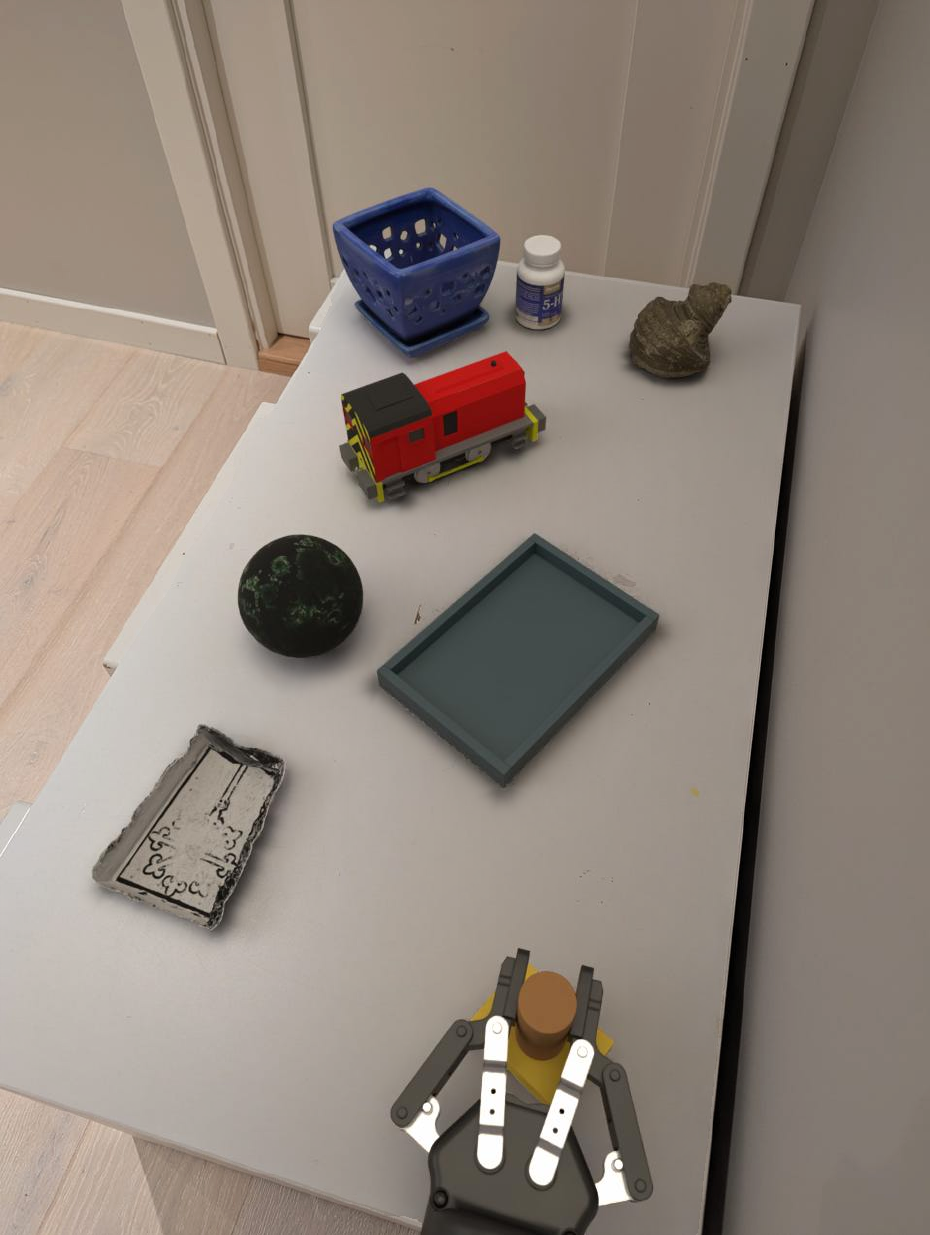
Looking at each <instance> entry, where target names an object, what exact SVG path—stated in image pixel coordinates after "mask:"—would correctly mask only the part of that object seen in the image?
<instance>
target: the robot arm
mask: <svg viewBox="0 0 930 1235" xmlns="http://www.w3.org/2000/svg"><path fill="white" fill-rule="evenodd" d="M530 957H531V950H528V949H525V948H522V947H521V948H520V947H517V951H516V955H515V957H513V956H508V955H507V956H506V957H505V959H504V960H503V961H502V963H501V965H500V970H499V974H498V978H497V979H498V980H497V982H496V988H495V990H496V991H495V990H494V992H495V996H494V1000H493V1004H492V1009H491V1011H490V1013H489V1015H488V1016H487V1017H485V1018H484V1019H481V1020H474V1021H470V1020H467V1019H465V1018H459V1019H457V1020H455V1021H454V1022H453V1023H452V1024H451V1026H449V1028H448V1030H446V1032H445V1034H444V1035H443V1036H442V1038H441V1039H440V1040H439V1042H438V1043H437V1044H436V1046H435V1047H434V1048H433V1050H432V1051H431V1052H430V1054H429V1055H428V1057H427V1058H426V1060H425V1061H423V1063H422V1065H421V1066H420V1068H419V1069H418V1070H417V1072H416V1073H415V1074H414V1075H413V1077H412V1078H411V1080H410V1081H409V1082H408V1084H407V1085H406V1086H405V1088H404V1089H403V1090H402V1092H401V1093H400V1094H399V1096H398V1097H397V1098H396V1100H395V1102H393V1104H392V1105H391V1107H390V1112H389V1113H390V1119H391V1122H392V1124H393V1125H394V1126H395V1128H397V1129H398V1130H399V1131H401V1132H404V1133H406V1134H407V1135H408V1136H409V1137H410V1138H412V1139H413V1140H414V1141H415V1142H416V1143H417V1144H418V1145H419V1146H420V1147H421V1148H422V1149H423V1150H424V1151H425V1152H426V1153H427V1154H428V1155H427V1168H428V1172H429V1179H430V1189H429V1195H428V1200H427V1204H426V1208H425V1212H424V1216H423V1221H422V1225H421V1229H420V1234H419V1235H585V1234H586V1232H587V1230H588V1229H589V1226H590V1225H591V1224H592V1222H593V1221H594V1219H596V1216H597V1214H598V1211H599V1207H602V1206H607V1205H612V1204H617V1203H623V1202H630V1203H634V1204H637V1203H638V1204H639V1203H642V1202H645V1201H647V1200H649V1199H650V1198H651V1197H652V1195H653V1192H654V1183H653V1179H652V1175H651V1171H650V1166H649V1162H648V1158H647V1154H646V1150H645V1146H644V1142H643V1137H642V1133H641V1129H640V1125H639V1121H638V1116H637V1112H636V1108H635V1103H634V1100H633V1095H632V1092H631V1087H630V1083H629V1079H628V1075H627V1071H626V1068H625V1067H624V1066H623V1065H622V1064H620V1063H618V1062H615V1061H612V1060H611V1059H610V1058H608V1057H607V1055H606V1056H604V1055H603V1054H602V1053H601V1052H600V1051H599V1049H598V1047H597V1044H596V1035H597V1029H598V1027H599V1022H600V1015H601V1010H602V1003H603V997H604V988H603V983H602V980H599V979H594V972H595V967H592V966H588V965H585V964H581V966H580V970H579V973H578V979H577V983H576V990H575V994H576V997H577V1011H576V1015H575V1017H574V1020H573V1023H572V1026H571V1028H570V1031H569V1034H568V1039H567V1042H569V1043H570V1049H569V1054H568V1057H567V1060H566V1063H565V1065H564V1068H563V1071H562V1074H561V1077H560V1080H559V1082H558V1085H557V1088H556V1091H555V1094H554V1096H553V1099H552V1102H551V1105H546V1104H541V1103H527V1102H525V1101H524V1100H522V1099H521V1098H519V1097H517V1096H515V1095H514V1094H512V1093H508V1092H506V1089H507V1071H508V1069H507V1051H508V1040H509V1036H510V1031H511V1026H513V1027H515V1024H516V1019H517V1007H518V997H519V992H520V989H521V987H522V985H523V983H524V982H525V977H526V972H527V967H528V963H529V961H530ZM529 964H530V963H529ZM479 1050H483V1063H482V1076H481V1092H480V1097H479V1098H478V1099H477V1100H476V1101H475V1102H474V1103H473V1104H471V1106H470V1107H469V1108H468V1109H467V1110H465V1112H464V1113H463V1114H462V1115H461V1116H459V1117H458V1118H457V1119H456V1120H455V1121H454V1122H453V1123H452V1124H451V1125H450V1126H449V1127H447V1129H446V1130H444V1131H443V1132H442V1133H441V1134H439V1133H438V1130H437V1122H438V1120H439V1118H440V1116H441V1105H440V1103H439V1101H438V1099H437V1096H439V1094H440V1092H441V1091H442V1090H443V1089H444V1087H445V1086H446V1084H447V1083H448V1081H449V1080H450V1079H451V1077H452V1076H453V1074H454V1073H455V1071H456V1070H457V1069H458V1067H459V1066H460V1065H461V1063H462V1062H463V1060H464V1059H465V1057H466V1056H467V1055H468V1053H469V1052H471V1051H479ZM586 1078H587V1079H588V1080H587V1081H589V1082H591V1083H592V1084H594V1085H595V1086H597V1087H598V1088H599V1092H600V1097H601V1102H602V1106H603V1110H604V1115H605V1120H606V1124H607V1128H608V1133H609V1138H610V1142H611V1147H612V1151H611V1152H609V1153H608V1154H607V1155H605V1157H604V1158H603V1161H602V1174H601V1175H602V1176H601V1178H600V1180H598V1182H595V1180H594V1178H593V1176H592V1173H591V1171H590V1168H589V1165H588V1163H587V1160H586V1158H585V1155H584V1153H583V1150H582V1147H581V1145H580V1142H579V1140H578V1137H577V1135H576V1132H575V1130H574V1128H573V1127H574V1126H573V1125H572V1123H573V1120H574V1117H575V1114H576V1111H577V1109H578V1105H579V1102H580V1099H581V1096H582V1093H583V1090H584V1086H585V1084H586V1083H585V1081H586Z"/></svg>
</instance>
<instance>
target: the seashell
mask: <svg viewBox="0 0 930 1235" xmlns="http://www.w3.org/2000/svg"><path fill="white" fill-rule="evenodd" d="M732 293H733V292H732V288H731V287H730V286H729V285H727V284H726V283H725V284H724V283H718V282H714V281H713V282H709V283H707V284H705V285H701V284H698V283H692V284H691V285H689V290H688V292H687V296H686V298H685V299H684V300H683V301H682V300H677V301H676V300H669V299H666V298H665V297H663V296H655V298H654V299H652V300H651V301H649V302H648V303H646V305H645V307H643V308H642V310H641V311H640V312H639V313H637V318H636V319H635V321H634V324H633V329H632V331H631V332H630V335H629V343H628V347H629V351H630V358H631V361H632V362H633V363H634V365H635V366H636V367H637V368H642V369H644V370H646V371H647V372H649V373H651V374H653V375H654V376H657V377H659V378H663V379H669V378H677V379H678V378H684V377H689V376H691V375H695V374H697V373H700V372H701V373H702V372H704V371H705V370H706V369H708V368H709V367H710V363H711V359H710V358H711V350H710V343H709V335H711V333H712V332H713V330H714V329H715V326H716V325H717V324H718V322H719V321H720V320H721V318H722V317H723V315H724V313H725V311H726V309H727V308H728V306H729V305H730V304H731V303H732V301H733V300H732V298H733V297H732Z"/></svg>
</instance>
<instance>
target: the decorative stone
mask: <svg viewBox="0 0 930 1235" xmlns="http://www.w3.org/2000/svg"><path fill="white" fill-rule="evenodd" d="M237 588H238V589H237V606H238V610H239V615H240V618H241V620H242V622H243V624H244V626H245V629H246V630H247V631H248V632H249V634H250V635H251V636H252V637H253V639H255V641H256V642H258V643H259V644H260V645H261V646H263V647H264V648H266V649H267V650H268V651H270V652H273V653H275V654H277V655H280V656H283V657H287V658H293V659H294V658H295V659H309V658H314V657H318V656H321V655H324V654H327V653H329V652H331V651H333V650H334V649H336V648H338V647H339V646H340V645H341V644H343V643H344V642H345V641H346V640H347V639H348V638H349V637H350V635H351V634H352V633H353V631H354V630H355V628H356V627H357V624H358V623H359V620H360V618H361V615H362V611H363V606H364V588H363V583H362V578H361V576H360V573H359V570H358V569H357V567H356V565H355V564H354V562H353V561H352V559H351V557H349V555H348V554H347V553H346V552H345V551H344V550H343V549H342V548H340V547H339V546H338V545H336V544H334V543H332V542H331V541H329V540H327V539H325V538H323V537H320V536H315V535H311V534H301V533H299V534H288V535H285V536H282V537H279V538H275V539H274V540H272V541H270V542H268V543H267V544H264V545H263V546H262V547H261V548H259V549H258V550H257V551H256V552H255V553H254V555H252V556H251V557H250V559H249V561H248V562H247V563H246V565H245V566H244V567H243V570H242V573H241V576H240V578H239V582H238V587H237Z"/></svg>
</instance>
